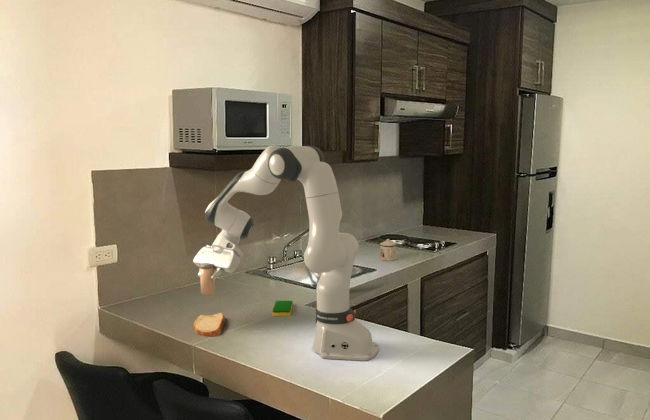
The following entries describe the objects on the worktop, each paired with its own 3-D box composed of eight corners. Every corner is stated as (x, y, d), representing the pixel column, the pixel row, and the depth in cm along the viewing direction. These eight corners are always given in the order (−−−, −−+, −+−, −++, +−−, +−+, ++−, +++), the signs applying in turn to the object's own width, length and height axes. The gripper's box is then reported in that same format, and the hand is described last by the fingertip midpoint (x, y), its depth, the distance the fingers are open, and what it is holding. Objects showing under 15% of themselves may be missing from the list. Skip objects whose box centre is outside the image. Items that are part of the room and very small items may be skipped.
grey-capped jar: (217, 291, 212) (216, 263, 210) (210, 295, 207) (209, 266, 205) (205, 289, 214) (204, 262, 212) (197, 293, 209) (196, 265, 207)
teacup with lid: (378, 257, 319) (378, 237, 317) (394, 257, 320) (394, 237, 318) (382, 262, 307) (382, 242, 305) (398, 262, 308) (399, 241, 306)
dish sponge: (292, 305, 237) (292, 300, 236) (290, 316, 223) (290, 311, 223) (276, 305, 237) (275, 300, 236) (272, 316, 223) (272, 311, 223)
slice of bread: (211, 339, 200) (211, 329, 199) (177, 329, 210) (177, 320, 209) (245, 324, 214) (245, 315, 214) (212, 316, 225) (212, 307, 224)
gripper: (200, 240, 219) (182, 269, 212) (238, 246, 207) (220, 277, 201) (209, 249, 223) (191, 278, 217) (246, 255, 212) (229, 286, 205)
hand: (205, 277), depth 209 cm, fingers closed on grey-capped jar, 5 cm apart
